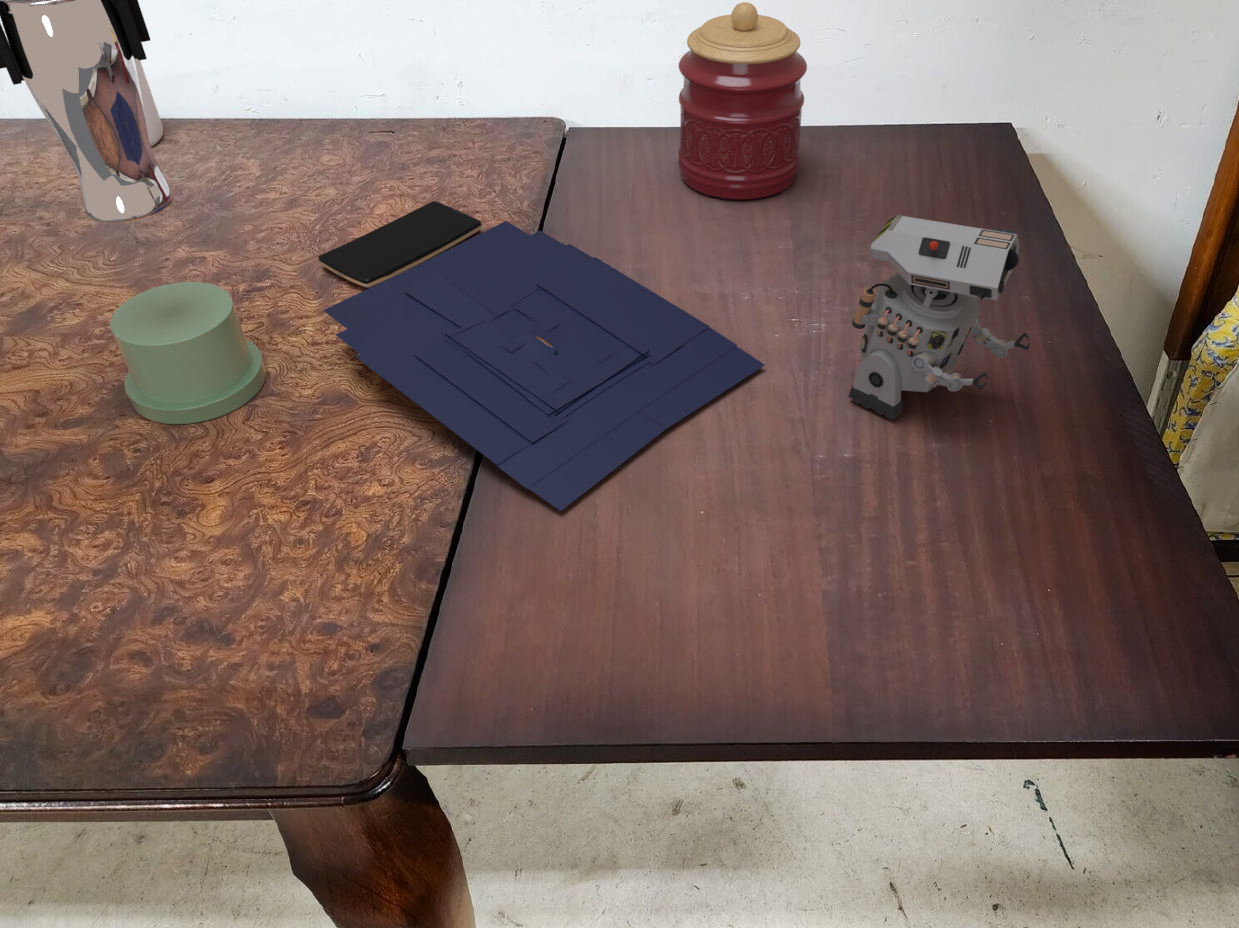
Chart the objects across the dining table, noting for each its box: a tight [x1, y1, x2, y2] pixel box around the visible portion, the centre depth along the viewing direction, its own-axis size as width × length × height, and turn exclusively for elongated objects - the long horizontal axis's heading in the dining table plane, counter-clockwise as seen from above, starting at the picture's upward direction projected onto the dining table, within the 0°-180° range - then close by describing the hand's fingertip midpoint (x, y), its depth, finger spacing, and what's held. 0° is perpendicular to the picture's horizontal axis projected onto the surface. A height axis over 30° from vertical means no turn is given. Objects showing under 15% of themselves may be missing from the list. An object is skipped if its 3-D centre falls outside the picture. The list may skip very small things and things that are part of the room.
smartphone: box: [318, 200, 483, 288], centre depth 104 cm, size 7×1×15 cm
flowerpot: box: [109, 281, 267, 425], centre depth 86 cm, size 11×11×7 cm
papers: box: [322, 220, 766, 512], centre depth 89 cm, size 24×30×4 cm
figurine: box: [848, 214, 1031, 420], centre depth 81 cm, size 9×12×15 cm
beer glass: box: [0, 0, 175, 225], centre depth 73 cm, size 7×7×15 cm
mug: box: [132, 55, 164, 147], centre depth 119 cm, size 9×12×11 cm
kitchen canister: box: [678, 1, 808, 200], centre depth 109 cm, size 13×13×18 cm
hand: (77, 63), depth 71 cm, fingers closed on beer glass, 7 cm apart
